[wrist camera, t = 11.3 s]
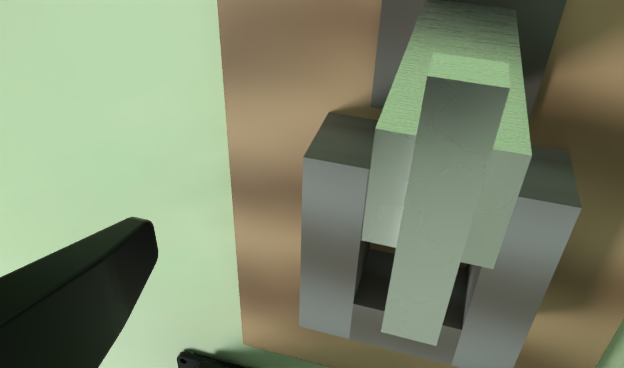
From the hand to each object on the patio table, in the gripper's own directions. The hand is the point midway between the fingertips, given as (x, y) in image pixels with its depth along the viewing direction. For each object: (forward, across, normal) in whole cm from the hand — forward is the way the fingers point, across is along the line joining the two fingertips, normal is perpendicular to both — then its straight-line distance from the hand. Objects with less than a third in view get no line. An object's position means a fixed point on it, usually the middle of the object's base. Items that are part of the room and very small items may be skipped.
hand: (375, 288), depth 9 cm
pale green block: (+11, -1, -1) cm, 11 cm away
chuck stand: (+12, -1, +8) cm, 14 cm away
